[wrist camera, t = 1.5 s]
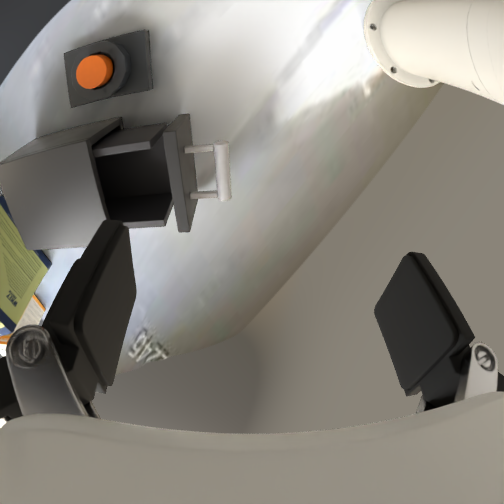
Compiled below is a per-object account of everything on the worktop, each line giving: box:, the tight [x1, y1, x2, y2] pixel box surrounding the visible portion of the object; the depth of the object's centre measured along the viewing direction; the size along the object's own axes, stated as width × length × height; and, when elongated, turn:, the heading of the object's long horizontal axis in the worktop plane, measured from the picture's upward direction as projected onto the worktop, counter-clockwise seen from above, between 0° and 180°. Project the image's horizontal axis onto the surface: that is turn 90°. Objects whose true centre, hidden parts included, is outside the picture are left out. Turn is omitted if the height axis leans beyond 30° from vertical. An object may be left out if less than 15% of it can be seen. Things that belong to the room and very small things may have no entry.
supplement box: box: [0, 295, 45, 356], centre depth 42 cm, size 8×5×13 cm, turn 101°
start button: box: [76, 55, 113, 89], centre depth 21 cm, size 4×4×2 cm
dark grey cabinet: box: [0, 117, 123, 250], centre depth 28 cm, size 14×12×9 cm
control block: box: [64, 30, 153, 108], centre depth 23 cm, size 10×7×3 cm
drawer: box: [91, 114, 232, 232], centre depth 28 cm, size 17×10×7 cm, turn 91°
